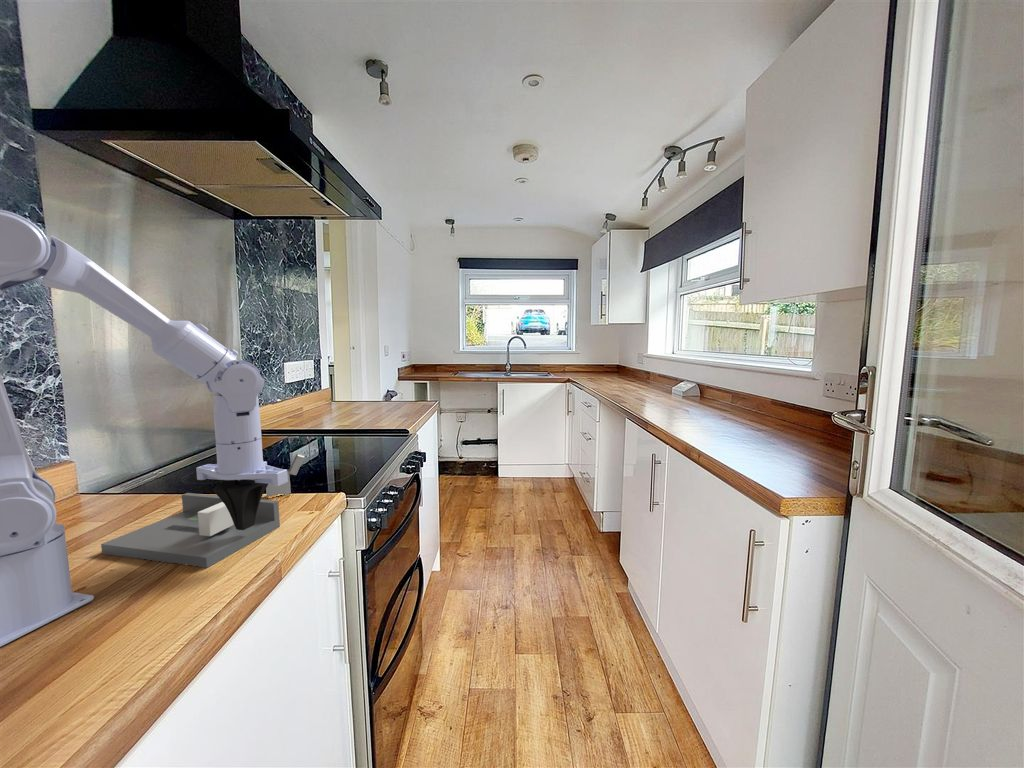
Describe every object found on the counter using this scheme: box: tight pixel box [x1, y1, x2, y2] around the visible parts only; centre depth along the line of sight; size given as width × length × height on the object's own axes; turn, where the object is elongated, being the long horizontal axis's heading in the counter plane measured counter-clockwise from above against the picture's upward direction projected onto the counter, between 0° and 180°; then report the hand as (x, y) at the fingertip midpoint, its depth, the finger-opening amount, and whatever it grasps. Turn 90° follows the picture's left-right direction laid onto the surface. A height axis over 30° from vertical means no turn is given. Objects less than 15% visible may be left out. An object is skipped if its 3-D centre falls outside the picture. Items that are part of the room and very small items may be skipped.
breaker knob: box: [198, 502, 234, 536], centre depth 62 cm, size 4×2×4 cm, turn 168°
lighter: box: [265, 452, 305, 498], centre depth 83 cm, size 7×2×8 cm, turn 127°
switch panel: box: [100, 492, 281, 569], centre depth 63 cm, size 13×19×4 cm
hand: (245, 527), depth 61 cm, fingers closed
